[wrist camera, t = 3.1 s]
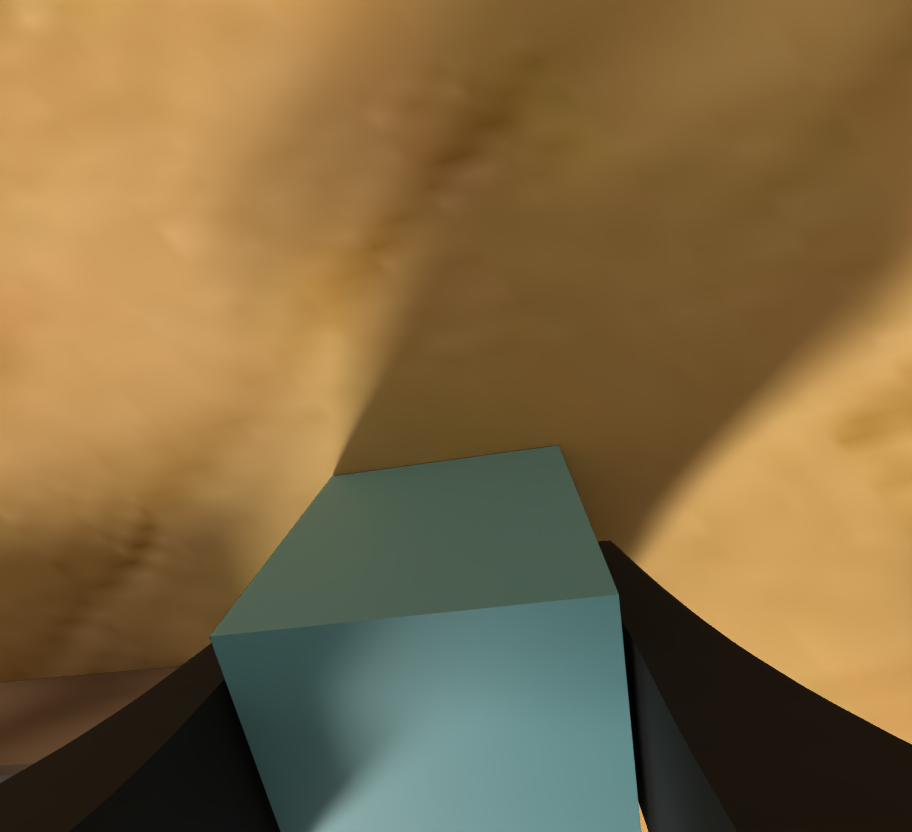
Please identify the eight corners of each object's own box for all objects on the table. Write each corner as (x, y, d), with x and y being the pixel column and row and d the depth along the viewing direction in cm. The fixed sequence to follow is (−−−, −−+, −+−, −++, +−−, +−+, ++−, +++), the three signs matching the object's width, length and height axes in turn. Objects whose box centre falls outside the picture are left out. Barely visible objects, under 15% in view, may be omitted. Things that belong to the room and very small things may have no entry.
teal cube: (558, 445, 10) (618, 595, 5) (582, 641, 11) (647, 897, 7) (331, 476, 10) (209, 636, 6) (379, 660, 12) (309, 909, 7)
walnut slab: (209, 647, 13) (128, 757, 10) (288, 863, 15) (240, 1004, 12) (-59, 671, 14) (-205, 779, 11) (52, 872, 16) (-45, 1006, 13)
